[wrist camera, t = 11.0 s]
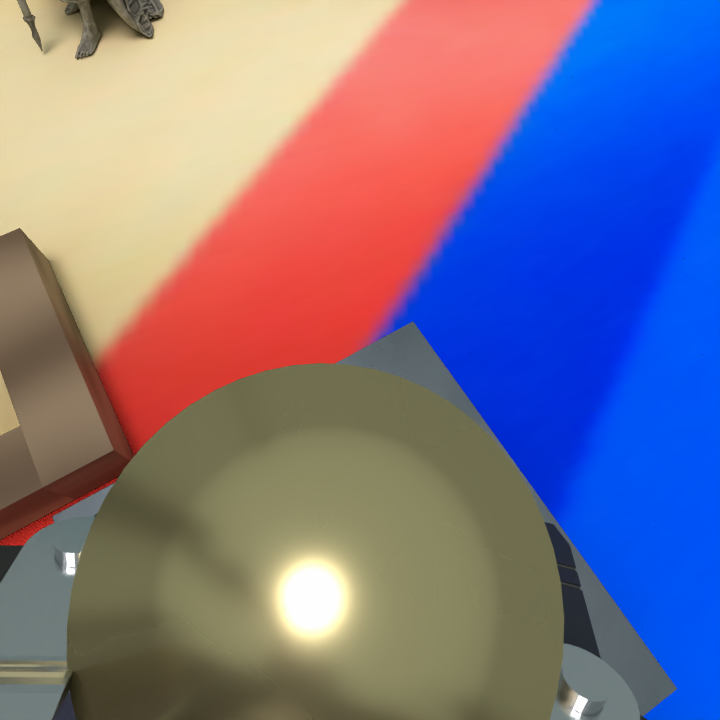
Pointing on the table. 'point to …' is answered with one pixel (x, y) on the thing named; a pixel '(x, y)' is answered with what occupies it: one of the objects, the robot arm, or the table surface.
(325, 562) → the brass peg
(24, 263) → the walnut stand
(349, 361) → the charcoal block
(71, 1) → the wizard figurine
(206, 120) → the table surface
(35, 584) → the robot arm
